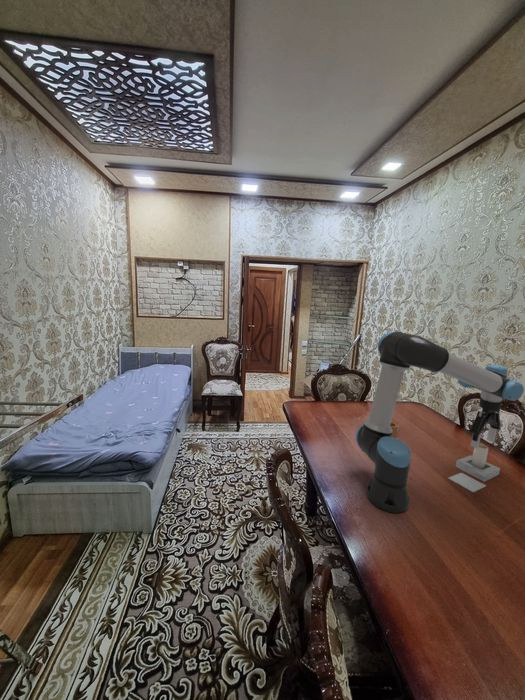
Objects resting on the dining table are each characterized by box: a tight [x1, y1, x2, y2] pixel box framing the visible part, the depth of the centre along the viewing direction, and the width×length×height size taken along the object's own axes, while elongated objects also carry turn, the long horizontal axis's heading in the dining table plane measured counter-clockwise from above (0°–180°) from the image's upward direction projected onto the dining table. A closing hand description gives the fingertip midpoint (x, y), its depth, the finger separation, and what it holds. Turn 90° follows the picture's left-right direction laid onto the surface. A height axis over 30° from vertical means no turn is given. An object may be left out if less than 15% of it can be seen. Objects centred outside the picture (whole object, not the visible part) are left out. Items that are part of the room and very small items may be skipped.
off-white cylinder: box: [471, 442, 490, 470], centre depth 130 cm, size 5×5×13 cm
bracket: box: [390, 421, 401, 438], centre depth 167 cm, size 18×8×7 cm, turn 146°
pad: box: [447, 472, 487, 493], centre depth 122 cm, size 10×10×1 cm
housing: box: [455, 454, 501, 482], centre depth 131 cm, size 12×12×4 cm
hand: (482, 444), depth 129 cm, fingers open, 13 cm apart
